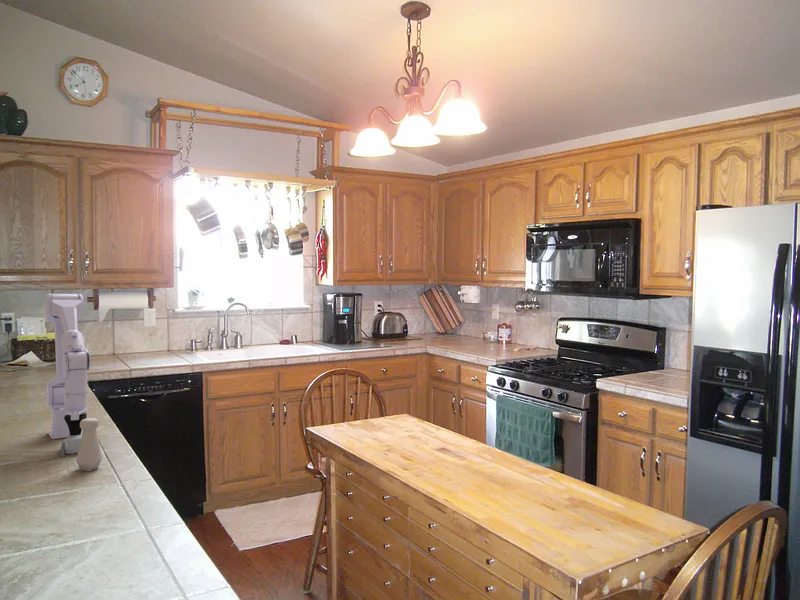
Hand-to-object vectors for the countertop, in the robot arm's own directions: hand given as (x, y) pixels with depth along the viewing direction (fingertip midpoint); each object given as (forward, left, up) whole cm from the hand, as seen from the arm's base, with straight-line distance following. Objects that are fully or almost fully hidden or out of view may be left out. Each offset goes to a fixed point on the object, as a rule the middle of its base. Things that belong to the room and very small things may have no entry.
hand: (75, 439), depth 172 cm
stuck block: (+4, -1, -2) cm, 5 cm away
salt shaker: (+22, -1, -3) cm, 22 cm away
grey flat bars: (+4, -1, -2) cm, 5 cm away
